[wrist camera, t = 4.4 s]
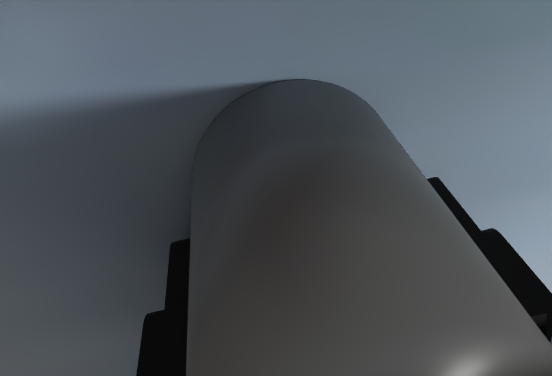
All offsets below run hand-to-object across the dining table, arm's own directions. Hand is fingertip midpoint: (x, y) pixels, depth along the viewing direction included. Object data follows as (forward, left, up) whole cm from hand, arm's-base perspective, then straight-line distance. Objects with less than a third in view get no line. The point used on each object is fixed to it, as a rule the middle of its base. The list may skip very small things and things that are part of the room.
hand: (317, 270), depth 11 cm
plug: (0, 0, 0) cm, 0 cm away
